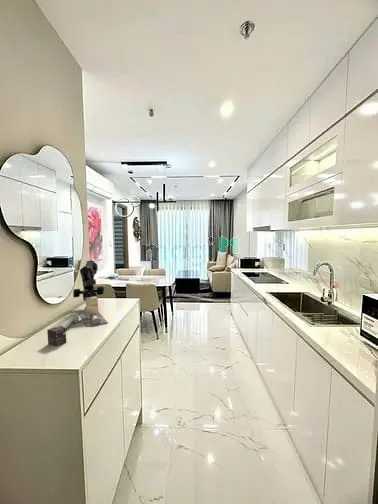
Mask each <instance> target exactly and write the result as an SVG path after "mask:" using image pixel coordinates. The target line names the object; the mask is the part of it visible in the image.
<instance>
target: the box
mask: <svg viewBox="0 0 378 504" xmlns="http://www.w3.org/2000/svg"><path fill="white" fill-rule="evenodd" d="M57 326H58V325H57ZM57 326H54V327H52V328H48V329H47V331H46V333H47V345H50V346H53V347H58V346H60V345H63V344H65V343H67V330H66V329H67V328H64V327H59V326H58V327H57Z"/></svg>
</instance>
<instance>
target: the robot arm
mask: <svg viewBox="0 0 378 504" xmlns="http://www.w3.org/2000/svg"><path fill="white" fill-rule="evenodd" d="M98 266H99V265H98V264H97V262H95V261H94V260H86V263H85V266H84V265H83V266H82V267H81V268H80V269H79V274H80V277H81V282H82V288H83V290H81V289H80V288H74V289H73V292H72V293H73V294H72V296H73V298H79V297H80V295H82V299H83V301H84V302H86V298H89V297H97V298H98V296H100V295H103V294H104V291H105V287H104V286H96V288H95V287H94V285H96V284H97V280H96V279H95V275H96V274H97V272H98V269H99V267H98ZM83 301H82V302H83ZM84 308H85V309H86V306H85V307H84Z"/></svg>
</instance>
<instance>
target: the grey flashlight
mask: <svg viewBox="0 0 378 504" xmlns="http://www.w3.org/2000/svg"><path fill="white" fill-rule="evenodd" d="M77 323H80V315H79V316H78V312H77V311H73V312H71V313H70V316H69V317H67V319H65V320H64V321H62V322H61V323H60V324H58V325H57V326H56V327H58V326H59V327H64V328H66V329H67V327H69V326H70V325H73V324H74V325H75V324H77Z"/></svg>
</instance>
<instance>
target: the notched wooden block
mask: <svg viewBox="0 0 378 504" xmlns="http://www.w3.org/2000/svg"><path fill="white" fill-rule="evenodd" d="M85 307H86V308H85V313H86V314H87V318H88V319H91V314H93V313H94V314H95V315H96V316H97V317H99V315H98V311H99V298H98V296H97V297H89V298H86V301H85Z"/></svg>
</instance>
